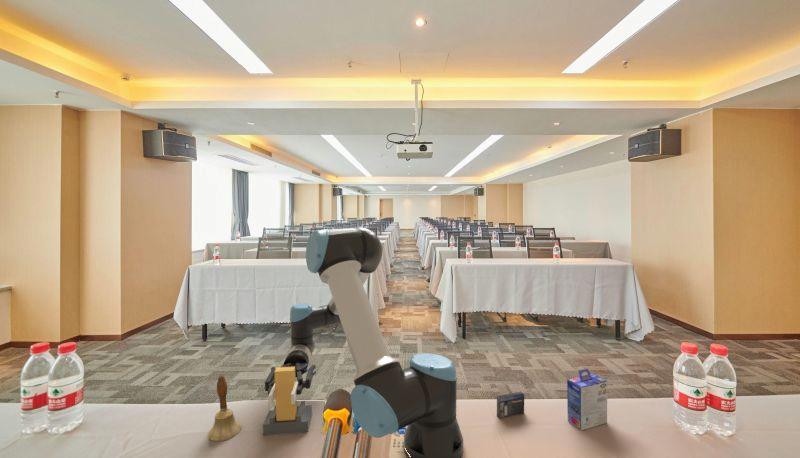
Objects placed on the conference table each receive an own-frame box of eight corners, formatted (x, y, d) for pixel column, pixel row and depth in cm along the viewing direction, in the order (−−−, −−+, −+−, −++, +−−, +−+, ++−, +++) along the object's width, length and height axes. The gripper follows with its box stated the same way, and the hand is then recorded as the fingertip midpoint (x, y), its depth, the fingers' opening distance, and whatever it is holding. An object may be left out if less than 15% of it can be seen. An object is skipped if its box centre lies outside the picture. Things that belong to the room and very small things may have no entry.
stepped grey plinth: (312, 414, 106) (311, 400, 106) (308, 431, 98) (307, 416, 98) (270, 417, 105) (270, 402, 105) (263, 435, 97) (262, 419, 97)
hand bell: (228, 443, 94) (225, 384, 93) (201, 439, 96) (197, 382, 95) (247, 424, 102) (245, 370, 101) (222, 421, 104) (219, 367, 103)
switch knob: (296, 414, 101) (295, 366, 100) (295, 419, 99) (293, 370, 97) (278, 415, 100) (276, 367, 99) (276, 421, 98) (274, 371, 97)
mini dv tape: (499, 418, 103) (499, 398, 103) (496, 415, 105) (496, 396, 104) (524, 413, 106) (524, 394, 105) (521, 410, 107) (521, 391, 107)
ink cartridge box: (591, 412, 106) (592, 364, 105) (608, 423, 100) (609, 373, 99) (565, 419, 102) (566, 370, 101) (581, 431, 97) (582, 379, 96)
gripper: (325, 370, 118) (317, 411, 95) (269, 373, 116) (246, 416, 93) (325, 348, 117) (316, 383, 94) (268, 351, 116) (244, 388, 92)
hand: (281, 399), depth 94 cm, fingers closed on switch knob, 5 cm apart
